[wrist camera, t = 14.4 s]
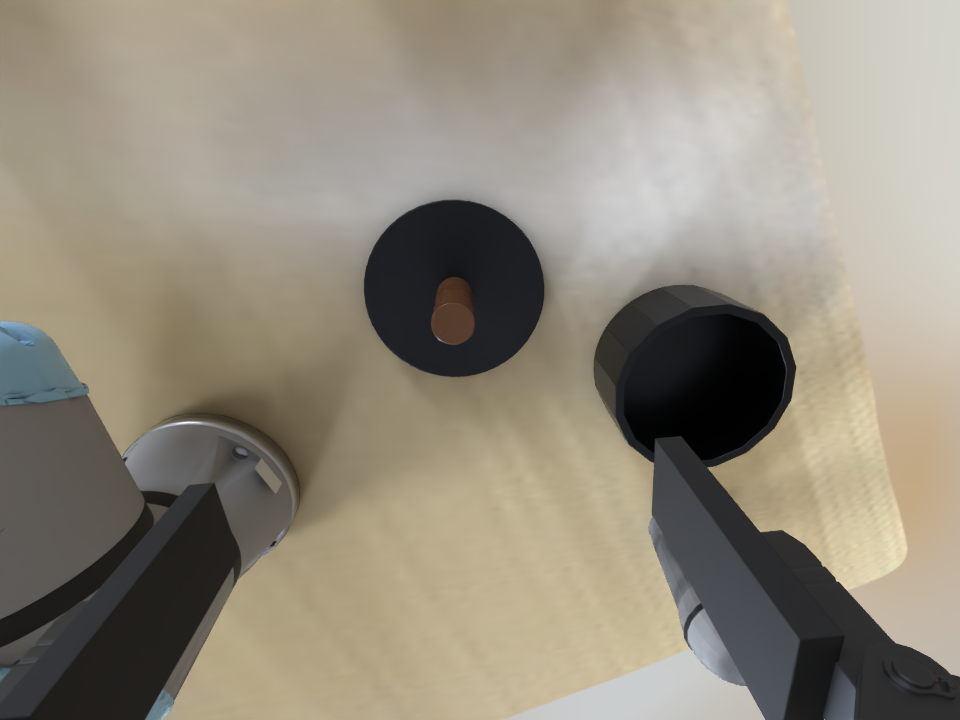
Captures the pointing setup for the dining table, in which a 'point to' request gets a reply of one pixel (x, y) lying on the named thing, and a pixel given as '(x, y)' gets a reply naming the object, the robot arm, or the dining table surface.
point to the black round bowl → (694, 372)
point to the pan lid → (454, 288)
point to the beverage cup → (694, 614)
